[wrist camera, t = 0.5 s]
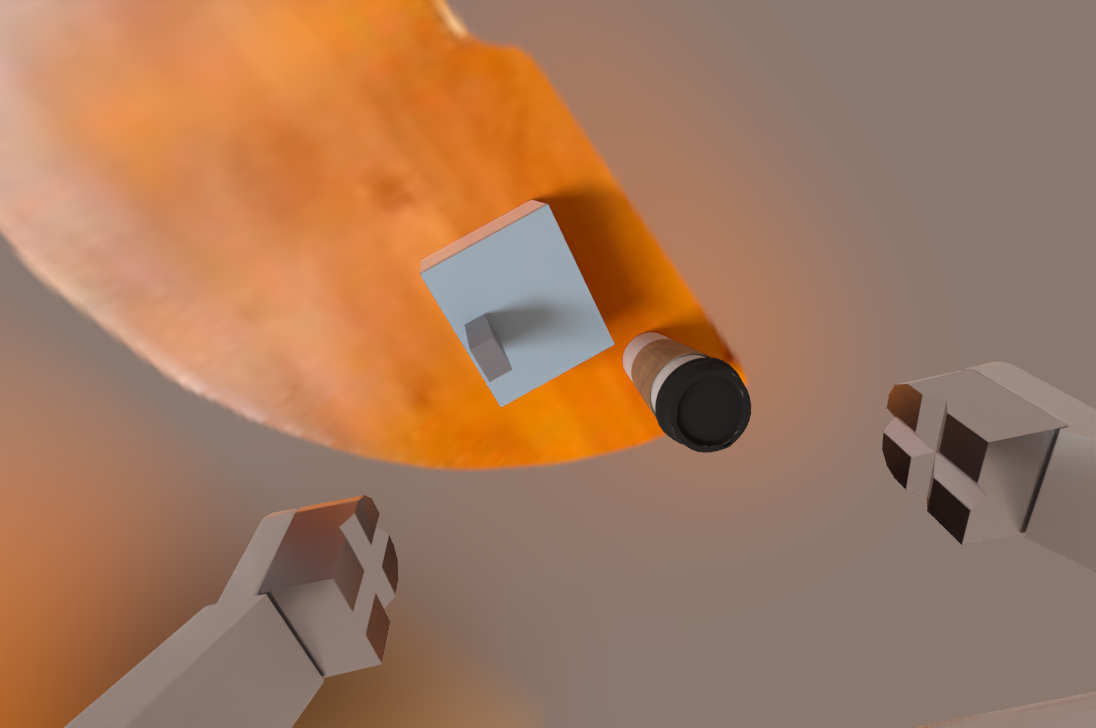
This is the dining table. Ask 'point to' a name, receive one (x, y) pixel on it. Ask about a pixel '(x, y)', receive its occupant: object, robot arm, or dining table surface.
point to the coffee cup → (688, 392)
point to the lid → (519, 305)
